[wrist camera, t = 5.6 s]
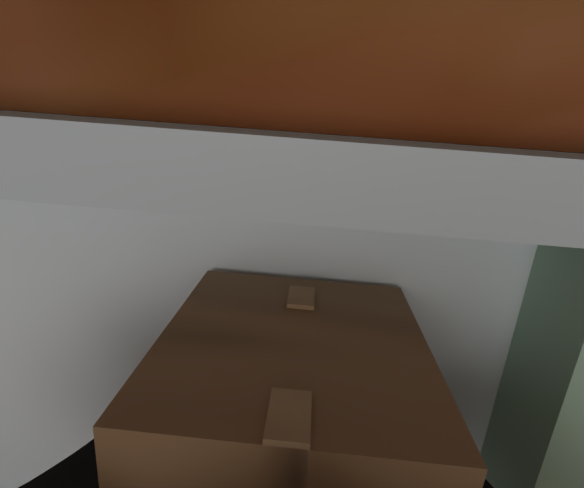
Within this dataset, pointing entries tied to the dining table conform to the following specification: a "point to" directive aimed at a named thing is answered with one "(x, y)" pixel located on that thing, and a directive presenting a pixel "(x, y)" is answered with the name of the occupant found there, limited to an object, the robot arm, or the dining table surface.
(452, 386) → the bay
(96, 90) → the dining table surface
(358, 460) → the cardboard box
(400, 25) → the dining table surface
